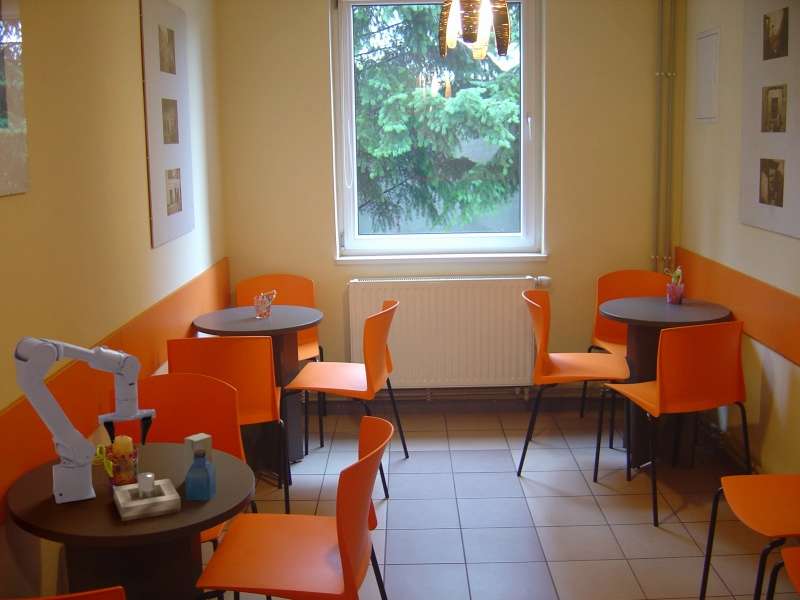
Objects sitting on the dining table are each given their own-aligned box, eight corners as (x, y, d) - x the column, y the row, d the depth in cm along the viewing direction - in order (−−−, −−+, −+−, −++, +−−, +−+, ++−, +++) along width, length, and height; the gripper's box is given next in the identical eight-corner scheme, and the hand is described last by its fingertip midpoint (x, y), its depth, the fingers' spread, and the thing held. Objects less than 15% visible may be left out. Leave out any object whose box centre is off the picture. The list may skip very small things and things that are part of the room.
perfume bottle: (192, 490, 226) (191, 447, 224) (215, 491, 226) (214, 447, 223) (186, 499, 220) (184, 455, 218) (210, 500, 219) (209, 456, 217)
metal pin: (139, 505, 213) (138, 479, 212) (137, 499, 216) (136, 473, 215) (156, 503, 215) (155, 476, 213) (153, 497, 218) (152, 471, 217)
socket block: (122, 521, 206) (121, 507, 206) (113, 500, 219) (113, 487, 218) (180, 511, 212) (180, 498, 212) (169, 491, 225) (168, 478, 224)
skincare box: (194, 484, 229) (193, 441, 227) (184, 480, 232) (183, 437, 230) (213, 477, 234) (212, 435, 232) (202, 474, 237) (201, 432, 235)
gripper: (100, 404, 222) (102, 454, 224) (156, 398, 228) (158, 446, 231) (96, 397, 228) (98, 446, 231) (152, 391, 235) (153, 438, 237)
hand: (128, 445), depth 231 cm, fingers open, 7 cm apart
